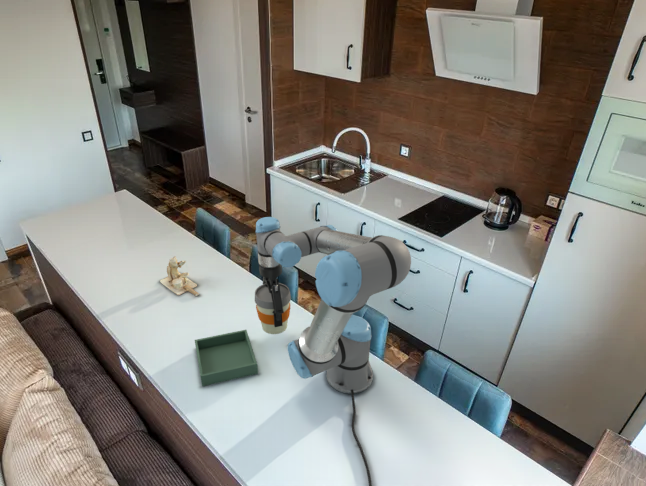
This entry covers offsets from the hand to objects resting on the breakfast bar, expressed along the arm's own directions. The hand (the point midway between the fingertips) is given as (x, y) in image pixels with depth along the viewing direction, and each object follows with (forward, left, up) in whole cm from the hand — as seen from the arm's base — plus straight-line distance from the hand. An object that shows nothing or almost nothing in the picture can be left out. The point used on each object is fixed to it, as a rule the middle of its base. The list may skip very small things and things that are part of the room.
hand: (273, 314), depth 160 cm
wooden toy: (+46, +30, -12) cm, 56 cm away
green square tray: (-6, +19, -12) cm, 23 cm away
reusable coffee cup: (0, 0, -5) cm, 5 cm away
